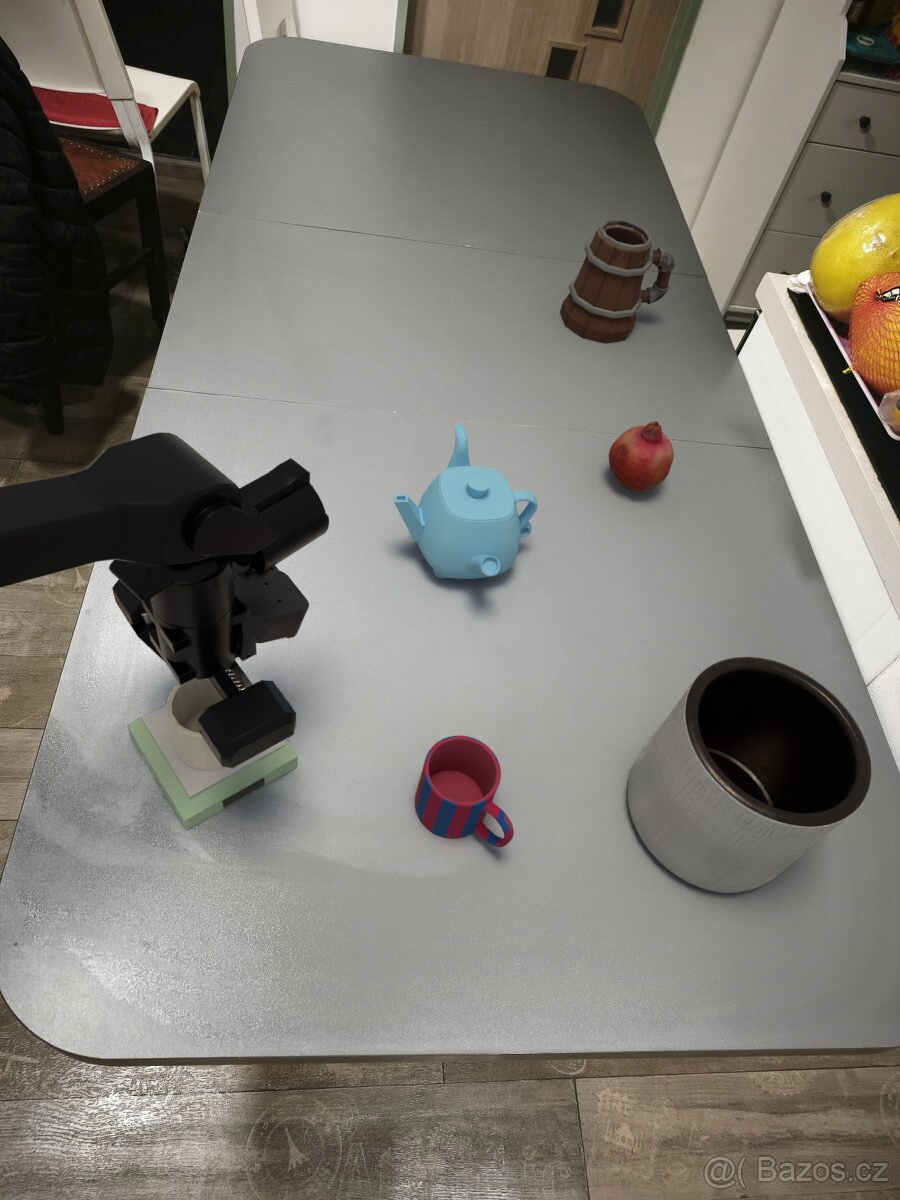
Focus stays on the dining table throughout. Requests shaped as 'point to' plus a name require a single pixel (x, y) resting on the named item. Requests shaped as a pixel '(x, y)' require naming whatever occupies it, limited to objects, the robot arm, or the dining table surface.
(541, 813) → the dining table surface
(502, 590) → the dining table surface
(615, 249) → the mug
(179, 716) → the ramekin
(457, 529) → the teapot
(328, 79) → the dining table surface
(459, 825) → the cup
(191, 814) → the scale
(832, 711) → the planter
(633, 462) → the fruit
